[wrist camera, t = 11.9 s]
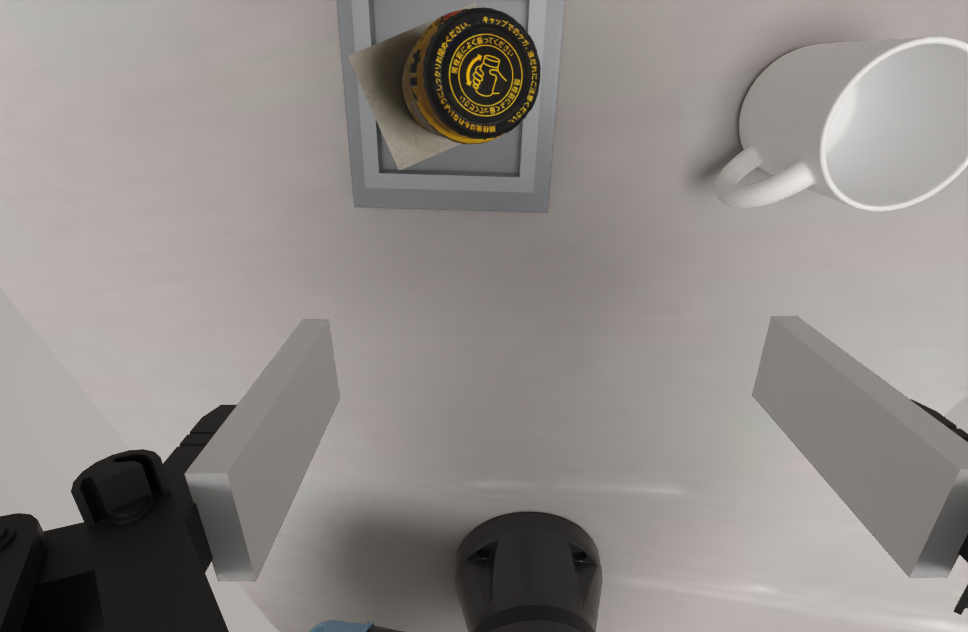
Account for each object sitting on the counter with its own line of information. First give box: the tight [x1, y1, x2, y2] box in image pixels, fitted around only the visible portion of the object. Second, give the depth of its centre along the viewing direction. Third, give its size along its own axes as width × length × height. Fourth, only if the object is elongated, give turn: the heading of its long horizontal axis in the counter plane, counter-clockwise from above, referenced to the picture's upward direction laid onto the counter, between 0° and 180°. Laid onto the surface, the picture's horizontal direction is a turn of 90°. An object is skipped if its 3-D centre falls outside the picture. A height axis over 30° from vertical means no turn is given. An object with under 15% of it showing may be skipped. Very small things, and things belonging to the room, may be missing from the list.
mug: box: [715, 37, 968, 211], centre depth 31 cm, size 12×8×10 cm
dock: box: [337, 0, 565, 213], centre depth 33 cm, size 20×14×2 cm
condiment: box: [348, 2, 541, 171], centre depth 27 cm, size 7×8×12 cm
